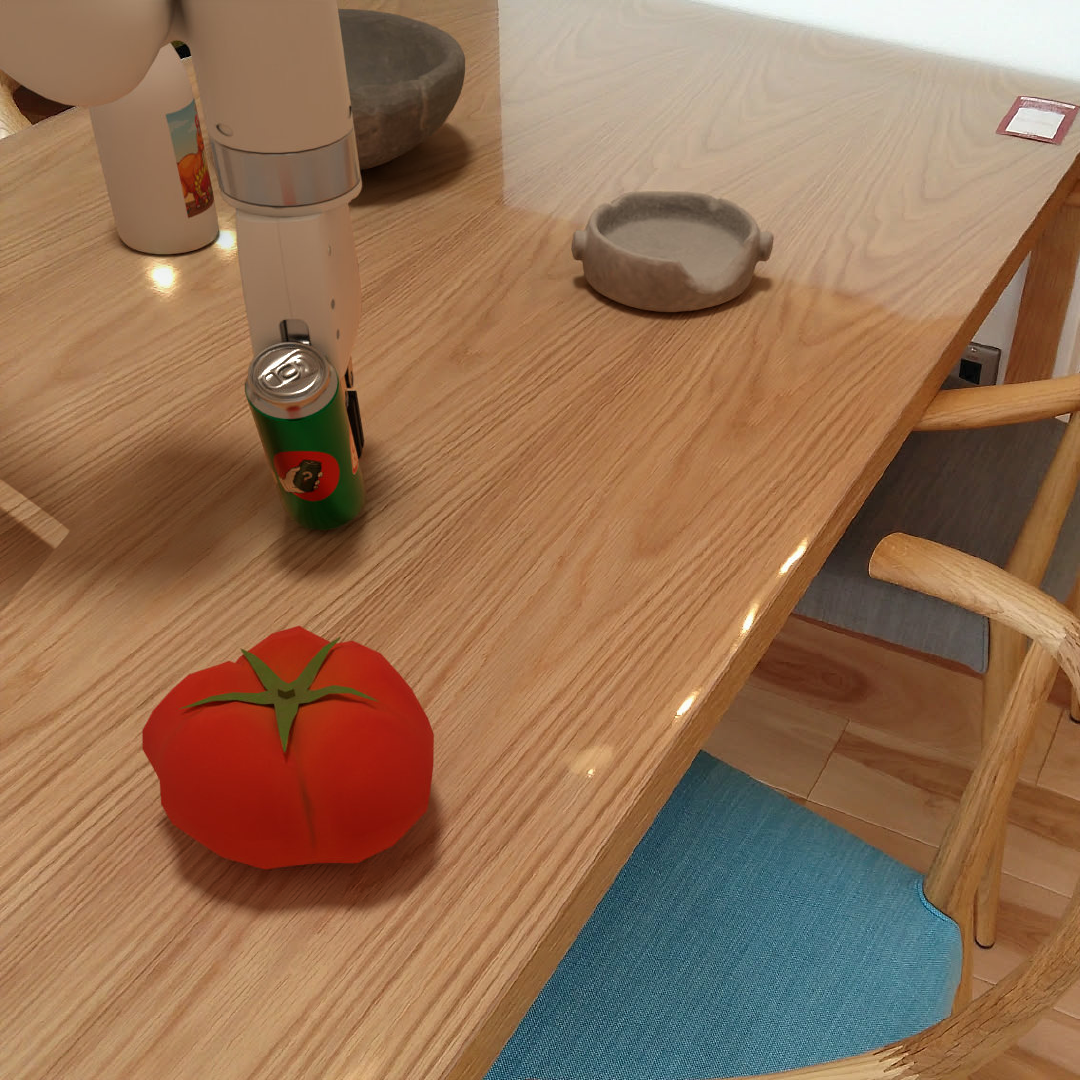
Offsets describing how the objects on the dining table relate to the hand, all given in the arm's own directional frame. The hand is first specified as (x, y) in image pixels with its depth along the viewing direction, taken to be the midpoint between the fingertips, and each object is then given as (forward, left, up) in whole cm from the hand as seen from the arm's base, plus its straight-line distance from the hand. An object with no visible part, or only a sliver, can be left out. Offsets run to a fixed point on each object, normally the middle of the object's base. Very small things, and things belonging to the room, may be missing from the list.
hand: (337, 452), depth 87 cm
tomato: (+3, -28, -3) cm, 28 cm away
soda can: (0, -3, -2) cm, 4 cm away
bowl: (-8, +52, -3) cm, 52 cm away
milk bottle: (-19, +34, -3) cm, 39 cm away
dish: (+21, +31, -3) cm, 37 cm away
